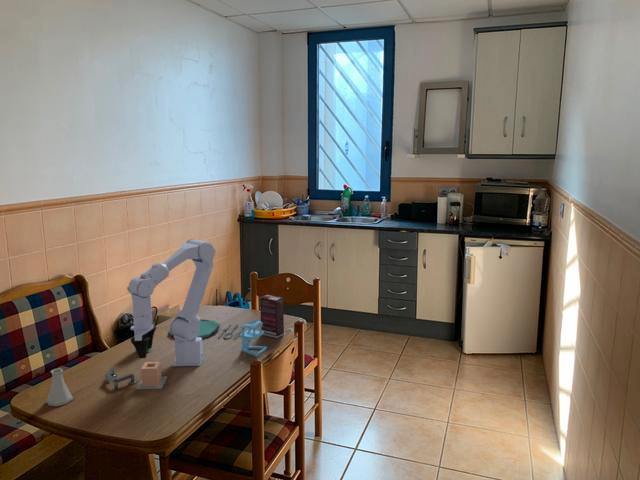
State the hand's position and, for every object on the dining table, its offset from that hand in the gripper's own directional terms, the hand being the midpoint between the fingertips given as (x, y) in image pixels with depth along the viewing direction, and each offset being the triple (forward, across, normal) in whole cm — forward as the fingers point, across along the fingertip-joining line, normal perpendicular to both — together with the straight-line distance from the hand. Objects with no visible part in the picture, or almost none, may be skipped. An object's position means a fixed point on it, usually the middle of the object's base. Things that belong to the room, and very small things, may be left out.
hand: (145, 352), depth 169 cm
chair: (+9, -19, +34) cm, 40 cm away
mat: (+9, +4, +3) cm, 10 cm away
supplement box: (+9, -35, +41) cm, 55 cm away
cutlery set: (+10, -40, +14) cm, 44 cm away
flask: (+9, +14, -22) cm, 28 cm away
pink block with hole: (+8, +4, +3) cm, 10 cm away
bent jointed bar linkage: (+9, +3, -8) cm, 12 cm away
